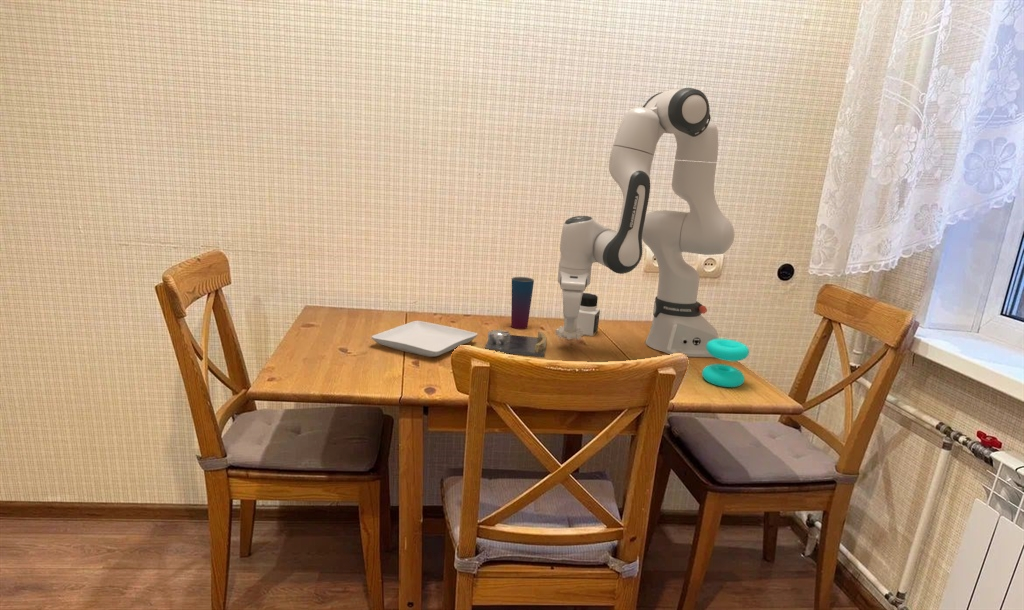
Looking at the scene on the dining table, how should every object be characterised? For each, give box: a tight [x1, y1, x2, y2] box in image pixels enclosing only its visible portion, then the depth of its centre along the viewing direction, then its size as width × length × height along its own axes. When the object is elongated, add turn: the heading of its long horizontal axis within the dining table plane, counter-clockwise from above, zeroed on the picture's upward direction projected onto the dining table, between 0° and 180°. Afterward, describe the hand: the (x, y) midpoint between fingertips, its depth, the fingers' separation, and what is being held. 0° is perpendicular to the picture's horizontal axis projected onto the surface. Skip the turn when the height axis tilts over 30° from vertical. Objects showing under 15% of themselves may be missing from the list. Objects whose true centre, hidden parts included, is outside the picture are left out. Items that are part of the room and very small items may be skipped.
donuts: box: [701, 338, 750, 388], centre depth 150 cm, size 10×10×10 cm
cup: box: [510, 276, 535, 330], centre depth 184 cm, size 7×7×15 cm
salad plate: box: [371, 320, 479, 358], centre depth 163 cm, size 21×21×3 cm
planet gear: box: [555, 317, 584, 340], centre depth 167 cm, size 8×8×6 cm
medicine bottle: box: [577, 292, 601, 337], centre depth 184 cm, size 7×7×12 cm
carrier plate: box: [484, 329, 547, 358], centre depth 166 cm, size 16×14×4 cm
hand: (570, 325), depth 167 cm, fingers closed on planet gear, 4 cm apart
